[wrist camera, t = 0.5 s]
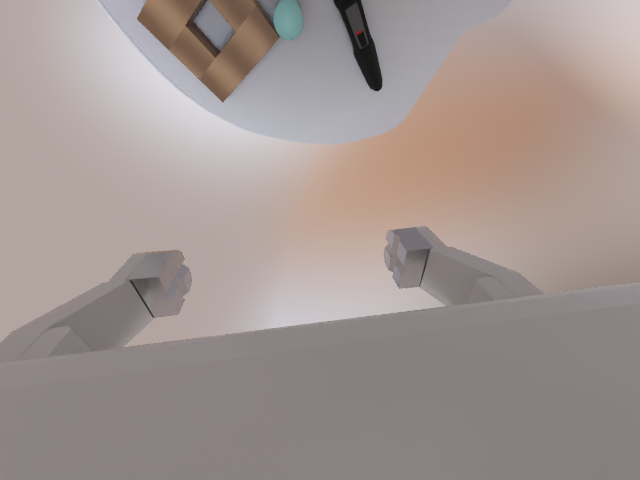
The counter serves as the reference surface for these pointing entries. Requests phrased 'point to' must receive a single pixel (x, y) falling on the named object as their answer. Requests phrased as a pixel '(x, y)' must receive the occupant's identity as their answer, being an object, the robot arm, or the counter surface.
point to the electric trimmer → (361, 41)
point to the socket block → (197, 50)
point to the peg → (288, 19)
